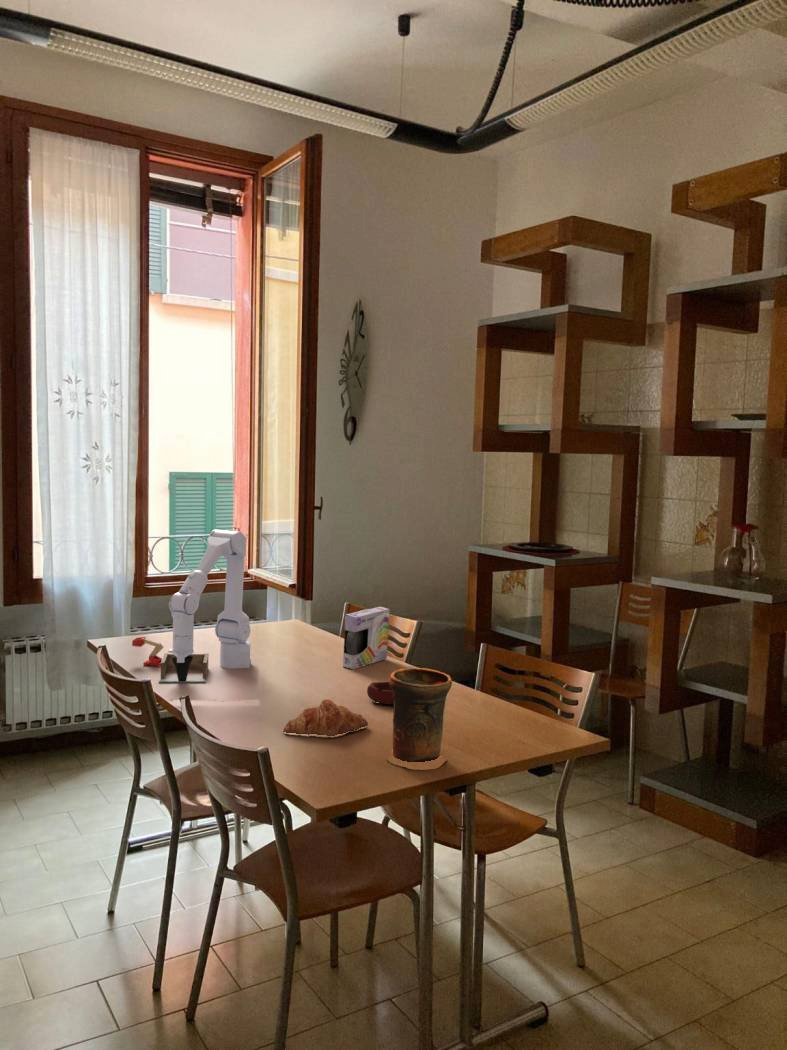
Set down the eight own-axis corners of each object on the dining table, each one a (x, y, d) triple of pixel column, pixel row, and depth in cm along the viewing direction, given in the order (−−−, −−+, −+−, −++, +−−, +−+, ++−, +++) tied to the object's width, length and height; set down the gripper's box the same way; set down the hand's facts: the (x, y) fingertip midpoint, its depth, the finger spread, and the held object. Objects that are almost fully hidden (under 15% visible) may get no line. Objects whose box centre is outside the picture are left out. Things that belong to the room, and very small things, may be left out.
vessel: (427, 744, 209) (431, 664, 207) (458, 766, 197) (464, 681, 194) (374, 752, 202) (378, 669, 200) (403, 776, 190) (408, 688, 187)
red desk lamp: (174, 672, 263) (175, 641, 262) (131, 669, 264) (131, 638, 263) (178, 669, 266) (179, 638, 265) (135, 666, 267) (136, 636, 266)
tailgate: (206, 678, 253) (205, 681, 248) (206, 682, 253) (205, 685, 248) (160, 678, 250) (158, 681, 246) (160, 682, 250) (158, 685, 246)
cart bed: (208, 672, 263) (208, 653, 263) (206, 682, 253) (206, 662, 252) (164, 672, 261) (164, 653, 261) (160, 682, 251) (160, 662, 250)
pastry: (332, 748, 205) (334, 715, 204) (280, 735, 212) (281, 703, 211) (369, 728, 220) (370, 698, 219) (318, 717, 227) (319, 687, 226)
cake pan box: (351, 670, 273) (353, 616, 271) (339, 667, 276) (341, 613, 274) (388, 660, 288) (390, 608, 286) (376, 657, 291) (378, 605, 289)
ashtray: (408, 715, 231) (408, 697, 231) (361, 702, 241) (361, 685, 241) (445, 701, 246) (446, 684, 245) (399, 689, 255) (400, 673, 255)
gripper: (171, 628, 253) (170, 674, 254) (166, 640, 239) (165, 688, 240) (195, 628, 254) (194, 674, 255) (192, 640, 240) (191, 688, 241)
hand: (182, 681), depth 248 cm, fingers closed, pressing on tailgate
